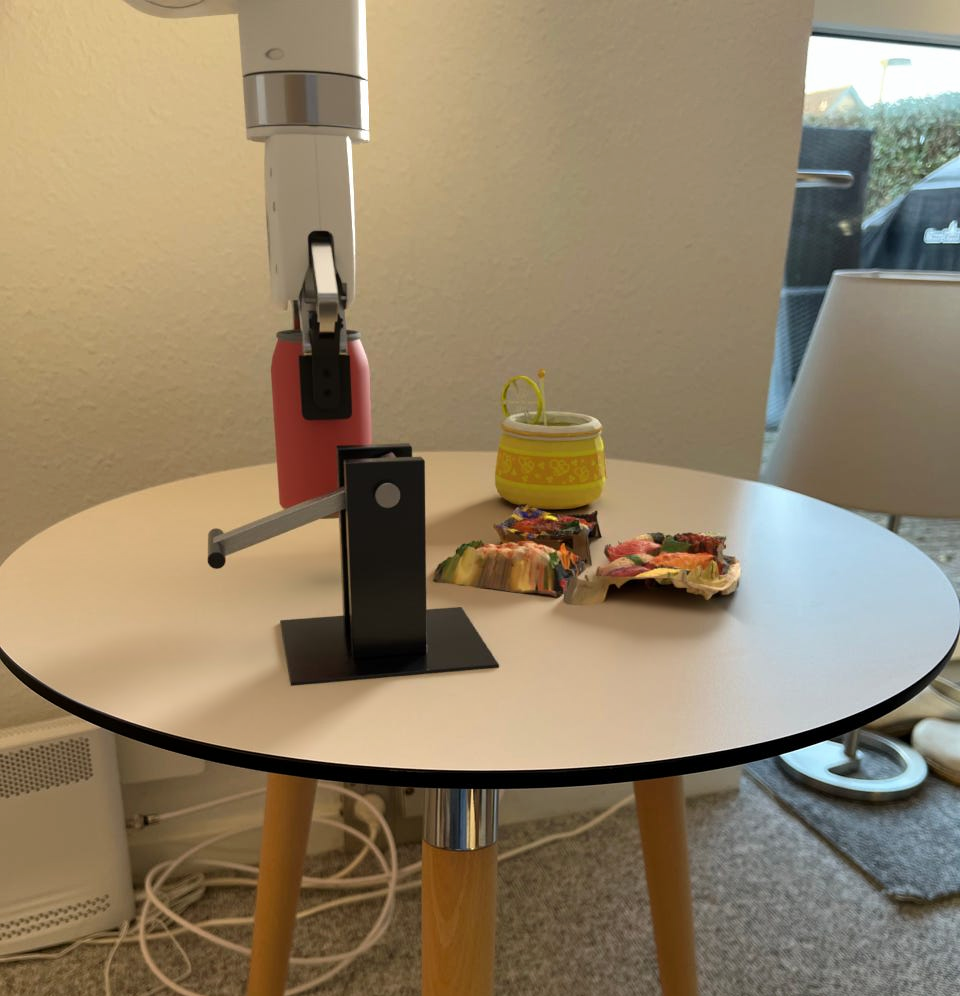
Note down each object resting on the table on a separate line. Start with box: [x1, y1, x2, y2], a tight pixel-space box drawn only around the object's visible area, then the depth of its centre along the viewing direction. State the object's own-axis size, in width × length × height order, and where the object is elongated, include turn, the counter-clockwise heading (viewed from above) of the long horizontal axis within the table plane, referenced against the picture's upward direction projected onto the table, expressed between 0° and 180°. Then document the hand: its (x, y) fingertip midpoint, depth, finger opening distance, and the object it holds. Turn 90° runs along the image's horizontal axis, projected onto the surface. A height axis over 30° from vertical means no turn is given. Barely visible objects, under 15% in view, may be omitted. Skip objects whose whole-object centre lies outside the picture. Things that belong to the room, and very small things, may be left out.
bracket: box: [279, 442, 500, 687], centre depth 60 cm, size 12×10×13 cm
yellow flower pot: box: [494, 368, 608, 511], centre depth 99 cm, size 13×11×12 cm
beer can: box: [270, 329, 373, 520], centre depth 69 cm, size 7×7×12 cm
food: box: [432, 504, 742, 606], centre depth 77 cm, size 22×19×4 cm
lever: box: [207, 452, 396, 570], centre depth 58 cm, size 12×5×2 cm, turn 104°
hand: (321, 407), depth 69 cm, fingers closed on beer can, 6 cm apart
